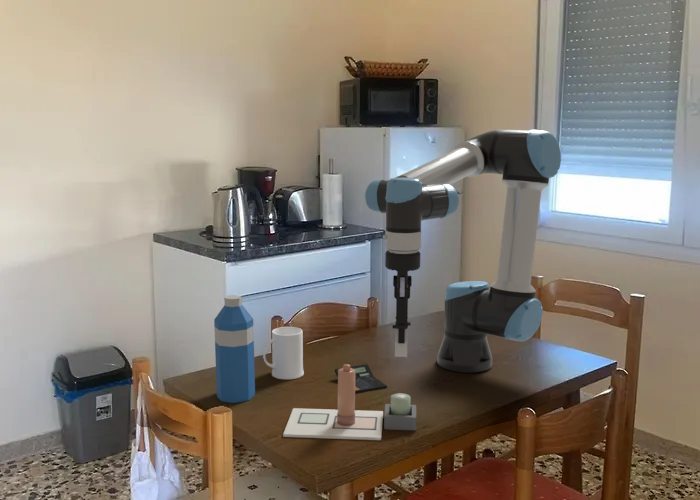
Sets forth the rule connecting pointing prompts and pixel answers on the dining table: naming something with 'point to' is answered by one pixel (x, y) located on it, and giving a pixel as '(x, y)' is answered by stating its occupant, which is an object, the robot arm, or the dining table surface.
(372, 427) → the picture sheet
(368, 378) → the calculator
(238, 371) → the water bottle
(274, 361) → the mug
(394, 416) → the button housing
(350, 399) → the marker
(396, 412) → the button
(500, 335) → the robot arm
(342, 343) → the dining table surface
